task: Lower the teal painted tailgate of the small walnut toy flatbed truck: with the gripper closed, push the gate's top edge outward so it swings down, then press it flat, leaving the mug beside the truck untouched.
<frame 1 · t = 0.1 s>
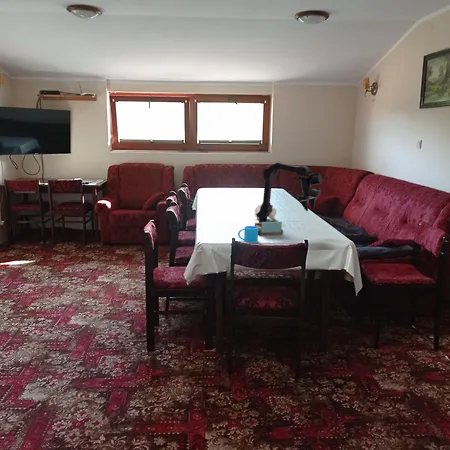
hand: (310, 210, 266), 15 cm above the table, tool pointing down, fingers open, 9 cm apart
mug: (247, 241, 248), on the table
tailgate: (271, 227, 261), point 5 cm above the table, hinge at 0.0°
truck bed: (267, 232, 268), on the table
cherub figurine: (266, 221, 306), on the table
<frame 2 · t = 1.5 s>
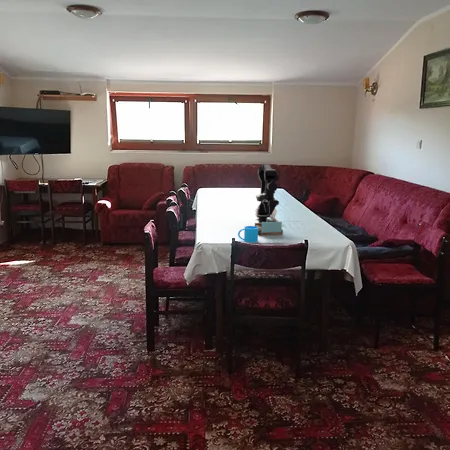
hand: (268, 213, 266), 12 cm above the table, tool pointing down, fingers open, 7 cm apart
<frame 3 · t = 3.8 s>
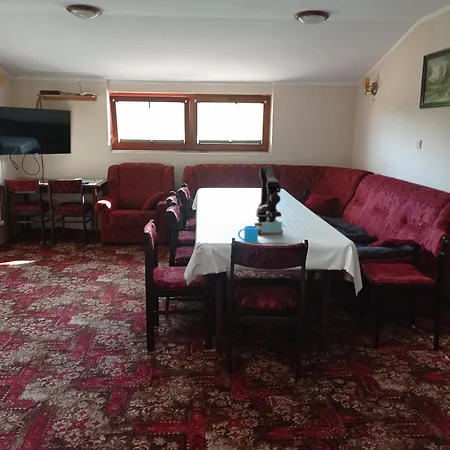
hand: (270, 225, 263), 6 cm above the table, tool pointing down, fingers closed
tailgate: (271, 227, 261), point 5 cm above the table, hinge at 2.5°, touching gripper
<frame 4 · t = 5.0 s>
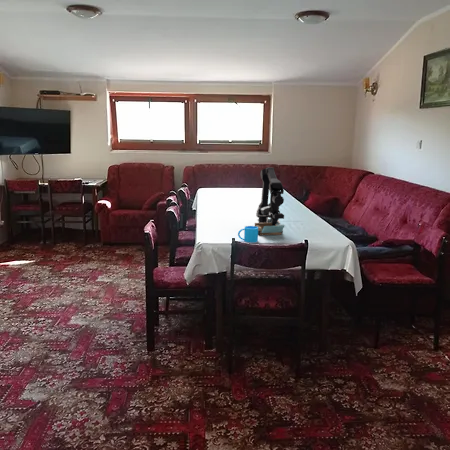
hand: (273, 226, 259), 6 cm above the table, tool pointing down, fingers closed
tailgate: (272, 229, 260), point 4 cm above the table, hinge at 43.8°, touching gripper
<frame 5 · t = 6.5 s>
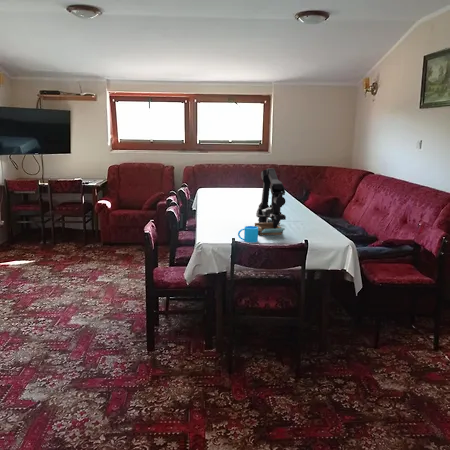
hand: (274, 228, 256), 6 cm above the table, tool pointing down, fingers closed, pressing on tailgate
tailgate: (273, 230, 259), point 4 cm above the table, hinge at 61.2°, touching gripper
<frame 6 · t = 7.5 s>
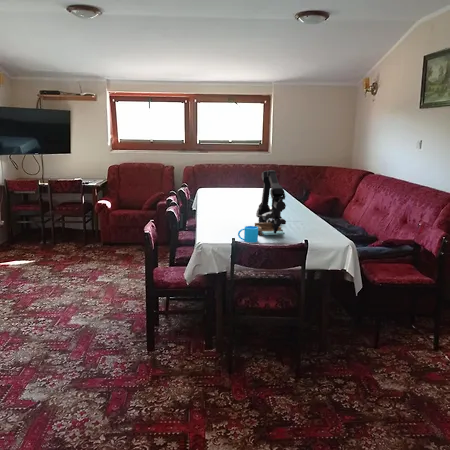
hand: (274, 232, 256), 3 cm above the table, tool pointing down, fingers closed
tailgate: (273, 232, 259), point 2 cm above the table, hinge at 86.7°, touching gripper
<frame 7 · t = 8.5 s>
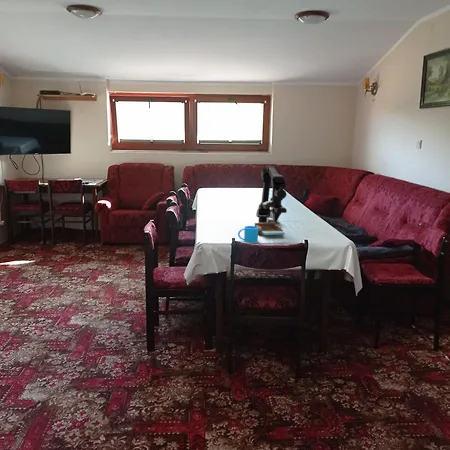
hand: (275, 221, 255), 10 cm above the table, tool pointing down, fingers closed
tailgate: (273, 232, 259), point 2 cm above the table, hinge at 86.8°
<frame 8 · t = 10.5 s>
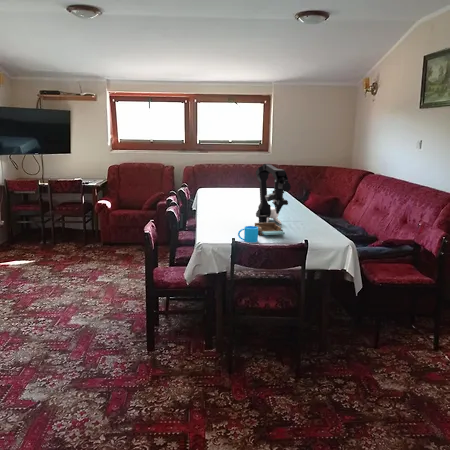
hand: (277, 213, 267), 13 cm above the table, tool pointing down, fingers closed
at the end: tailgate at +87° (first picture: +0°); mug moved 0.3 cm from its start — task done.
